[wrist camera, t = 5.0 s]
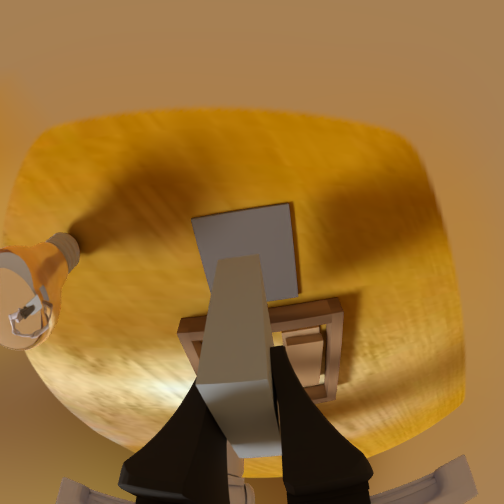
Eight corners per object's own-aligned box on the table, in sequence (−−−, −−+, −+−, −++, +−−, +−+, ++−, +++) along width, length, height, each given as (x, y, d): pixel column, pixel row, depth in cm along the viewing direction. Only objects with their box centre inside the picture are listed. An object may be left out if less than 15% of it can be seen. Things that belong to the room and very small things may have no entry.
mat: (297, 294, 23) (298, 296, 23) (215, 305, 23) (215, 308, 23) (288, 202, 19) (288, 204, 19) (191, 218, 20) (190, 219, 19)
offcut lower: (317, 370, 29) (319, 376, 28) (287, 374, 29) (288, 381, 28) (317, 319, 25) (319, 327, 24) (280, 325, 25) (281, 333, 25)
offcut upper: (317, 377, 28) (318, 384, 27) (287, 381, 28) (288, 388, 27) (321, 333, 25) (323, 340, 24) (285, 338, 25) (286, 345, 24)
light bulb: (74, 190, 18) (-34, 262, 8) (119, 258, 21) (45, 365, 10) (34, 229, 20) (-49, 301, 9) (74, 287, 22) (10, 377, 12)
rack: (332, 386, 29) (335, 399, 28) (218, 400, 30) (217, 413, 28) (337, 297, 23) (343, 311, 21) (181, 318, 24) (176, 333, 22)
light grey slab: (273, 345, 18) (284, 454, 11) (241, 349, 18) (239, 458, 11) (258, 253, 15) (267, 379, 7) (217, 259, 15) (195, 384, 8)
